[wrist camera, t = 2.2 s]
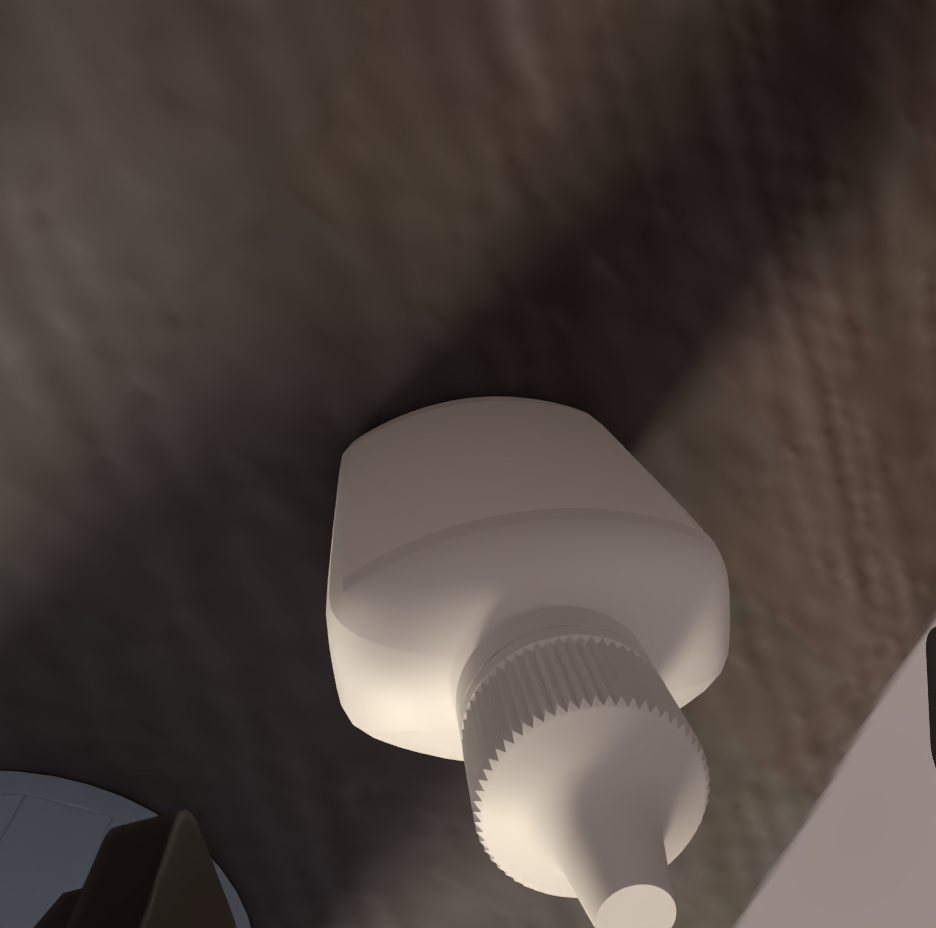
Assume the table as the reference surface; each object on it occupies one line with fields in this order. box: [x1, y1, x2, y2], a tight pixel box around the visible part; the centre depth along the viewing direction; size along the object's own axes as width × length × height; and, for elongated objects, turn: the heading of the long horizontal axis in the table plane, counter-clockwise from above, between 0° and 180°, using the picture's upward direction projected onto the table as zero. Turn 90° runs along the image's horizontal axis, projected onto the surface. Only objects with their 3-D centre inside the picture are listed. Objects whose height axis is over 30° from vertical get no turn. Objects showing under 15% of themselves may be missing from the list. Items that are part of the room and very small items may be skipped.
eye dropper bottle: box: [326, 396, 730, 928], centre depth 13 cm, size 4×6×12 cm
